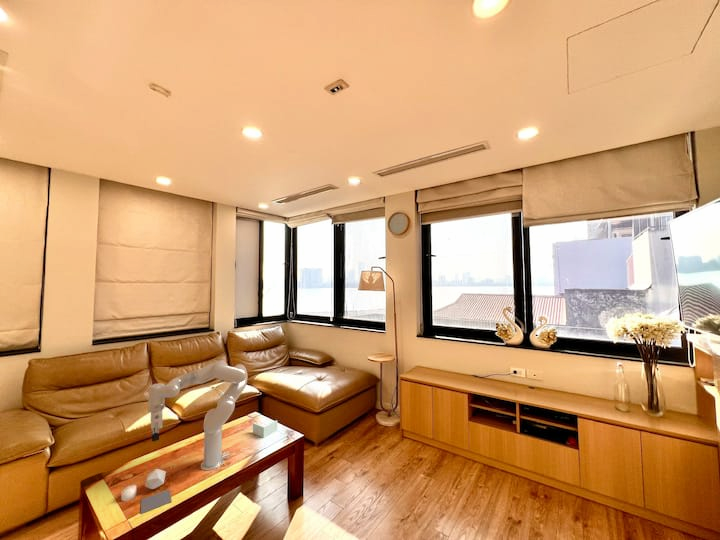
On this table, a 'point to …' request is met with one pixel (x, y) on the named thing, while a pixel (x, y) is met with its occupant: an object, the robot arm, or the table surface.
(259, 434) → the pale green block
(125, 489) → the white rounded lump
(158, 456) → the table surface
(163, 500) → the mat
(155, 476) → the die
